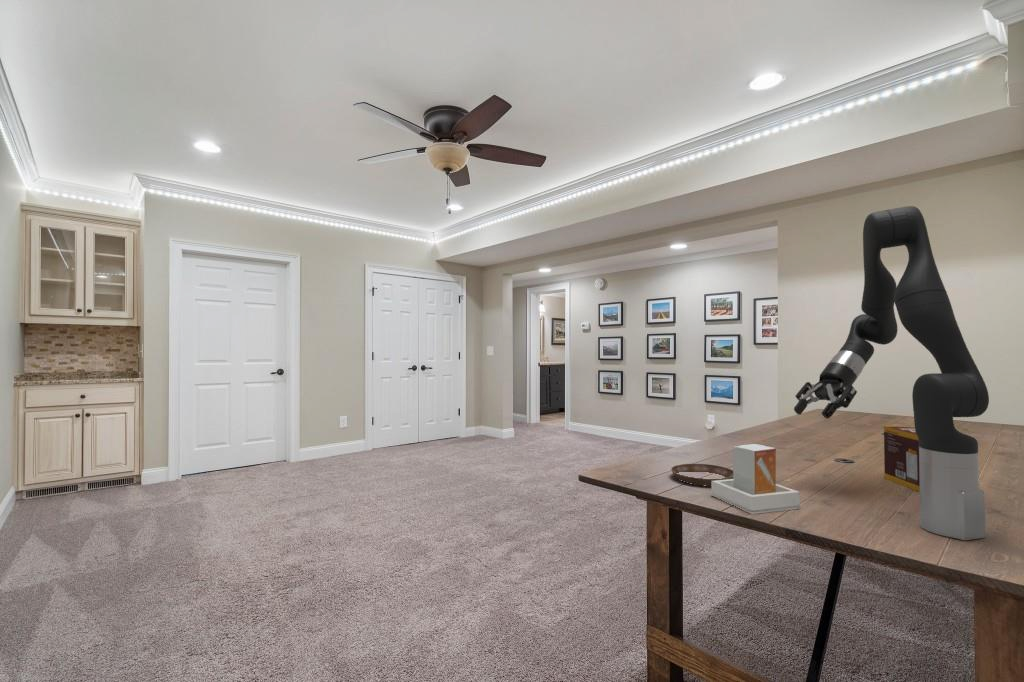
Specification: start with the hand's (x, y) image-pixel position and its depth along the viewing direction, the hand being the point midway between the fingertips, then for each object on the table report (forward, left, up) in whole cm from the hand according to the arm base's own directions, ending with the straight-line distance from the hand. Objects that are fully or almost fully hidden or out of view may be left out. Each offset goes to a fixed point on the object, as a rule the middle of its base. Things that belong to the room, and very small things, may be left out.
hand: (810, 414), depth 127 cm
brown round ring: (+19, +19, -21) cm, 35 cm away
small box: (-2, +20, -20) cm, 29 cm away
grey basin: (-2, +20, -21) cm, 29 cm away
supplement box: (-3, -36, -21) cm, 42 cm away
